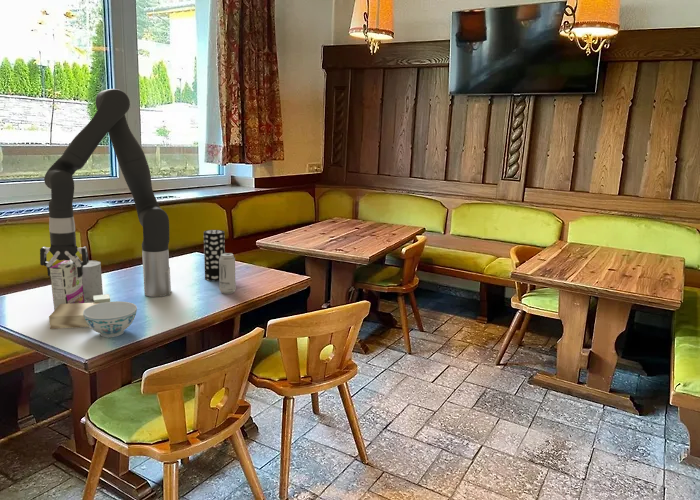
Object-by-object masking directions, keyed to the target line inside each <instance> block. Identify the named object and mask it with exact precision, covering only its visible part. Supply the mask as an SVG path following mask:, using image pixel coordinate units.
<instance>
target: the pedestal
mask: <svg viewBox="0 0 700 500" xmlns="http://www.w3.org/2000/svg"><path fill="white" fill-rule="evenodd" d="M96 304H100V302H98V303H94V302H85V303H71V304H60V305H59V306H58V307H57V308H56V309H55V311H54V310H53V312H52V313H51V314H50V315H49V316H48V318H49V319H48V320H49V328H50V330H53V329H54V330H55V329H57V330H58V329H76V328H77V329H78V328H91V327H90V326H89V325H88V324H87V322H86V320H85V318H84V315H83V311H84V310H85V309H86V308H88V307H90V306H93V305H96Z"/></svg>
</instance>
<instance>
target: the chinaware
mask: <svg viewBox="0 0 700 500" xmlns="http://www.w3.org/2000/svg"><path fill="white" fill-rule="evenodd" d="M137 310H138V307H137V305H136V304H135V303H132V302H129V301H110V302H105V303H100V304H96V305H93V306H90V307H88V308H86V309H85V310H84V311H83V315H84V318H85V320H86V322H87V324H88V325H89V326H90V327H89V328H91V330H93V331H94V332H97V333H99V335H100V336H101V337H103V338H116V337H119V336H121V335H123V334H124V333H125V330H127V329H128V328H129V327H130V326H131V325H132V324H133V321H134V320H135V318H136V316H137Z"/></svg>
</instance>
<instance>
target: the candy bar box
mask: <svg viewBox="0 0 700 500" xmlns="http://www.w3.org/2000/svg"><path fill="white" fill-rule="evenodd" d="M77 267H78V266H77V265H76V264H75V263H74V262H73V261H72V260H62V261H61V262H58V263H56V264H55V265H54V264H53V265H52V267H50V268H49V269H50V276H49V278H50V277H51V278H50V283H51V284H50V285H51V291H52V300H53V308H54V309H53V312H54V311H55V309H56V308H57V307H58V306H59V305H60V304H71V303H86V302H85V300H84V292H83V282H82V276H81V277H80V278H78V274H77Z"/></svg>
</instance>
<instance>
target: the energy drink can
mask: <svg viewBox="0 0 700 500" xmlns="http://www.w3.org/2000/svg"><path fill="white" fill-rule="evenodd" d="M218 282H219V292H221V294H224V295H230V294H234V293H235V291H236V258H235V256H234V254H233V253H232V252H225V253H223V254H221V256H220V258H219V281H218Z"/></svg>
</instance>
